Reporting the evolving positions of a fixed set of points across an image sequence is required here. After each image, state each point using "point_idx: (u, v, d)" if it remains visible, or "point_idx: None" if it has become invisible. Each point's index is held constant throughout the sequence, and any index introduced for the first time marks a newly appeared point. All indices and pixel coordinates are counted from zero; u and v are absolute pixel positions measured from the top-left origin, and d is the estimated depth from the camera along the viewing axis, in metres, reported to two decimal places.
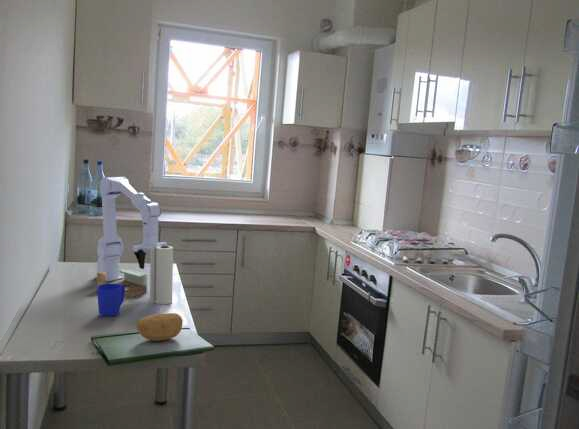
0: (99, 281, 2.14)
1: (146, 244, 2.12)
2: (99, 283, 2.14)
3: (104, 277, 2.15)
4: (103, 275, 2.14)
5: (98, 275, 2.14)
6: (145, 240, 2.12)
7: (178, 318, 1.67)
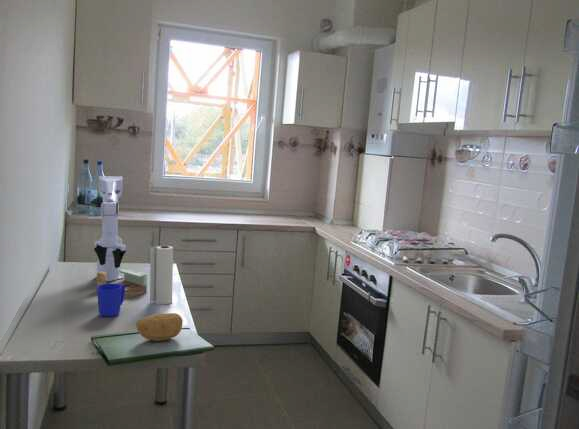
0: (99, 281, 2.14)
1: None
2: (99, 283, 2.14)
3: (104, 277, 2.15)
4: (103, 275, 2.14)
5: (98, 275, 2.14)
6: None
7: (178, 318, 1.67)
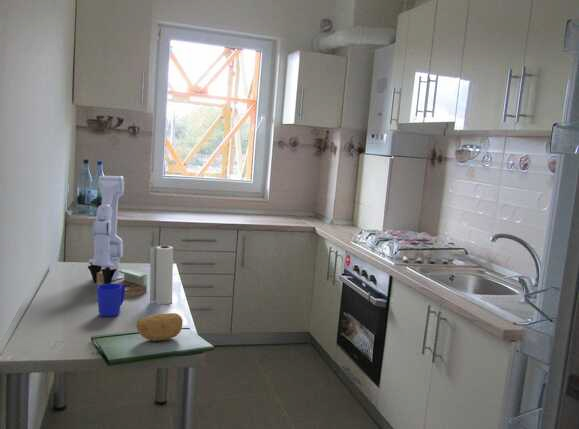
0: (99, 281, 2.14)
1: None
2: (99, 283, 2.14)
3: None
4: None
5: (98, 275, 2.14)
6: None
7: (178, 318, 1.67)
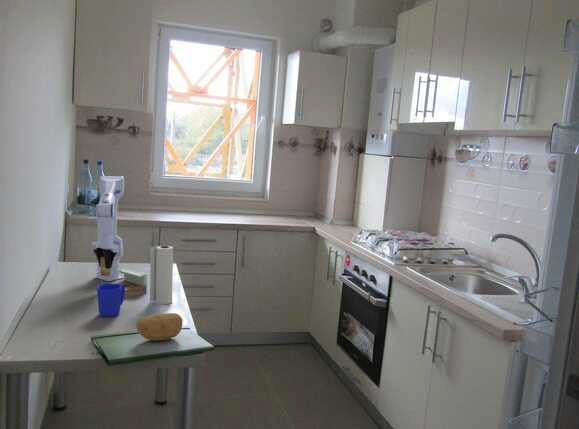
0: (102, 265, 2.13)
1: None
2: (103, 267, 2.13)
3: None
4: None
5: (102, 259, 2.13)
6: None
7: (178, 318, 1.67)
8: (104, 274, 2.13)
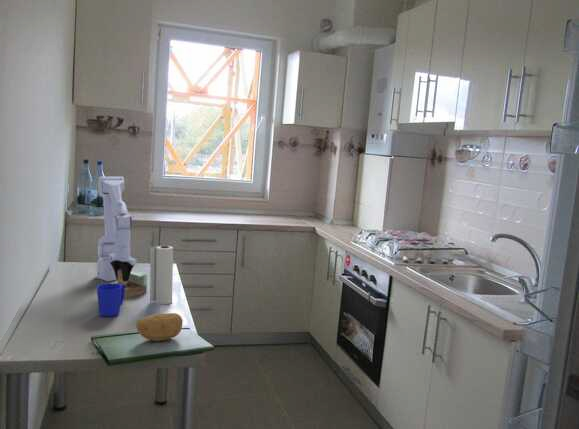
0: (120, 278, 2.11)
1: None
2: (120, 280, 2.11)
3: None
4: None
5: (119, 272, 2.11)
6: None
7: (178, 318, 1.67)
8: None
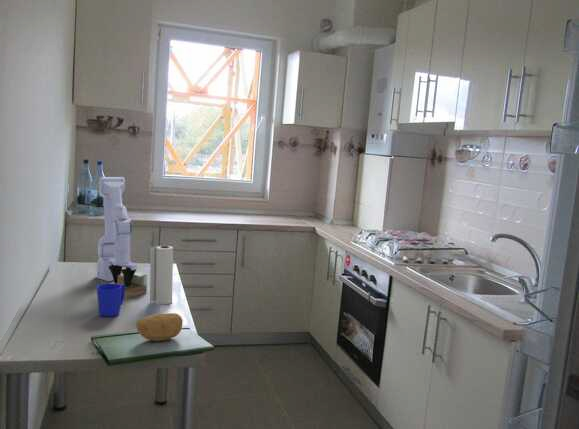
0: None
1: None
2: None
3: None
4: None
5: (119, 278, 2.11)
6: None
7: (178, 318, 1.67)
8: None
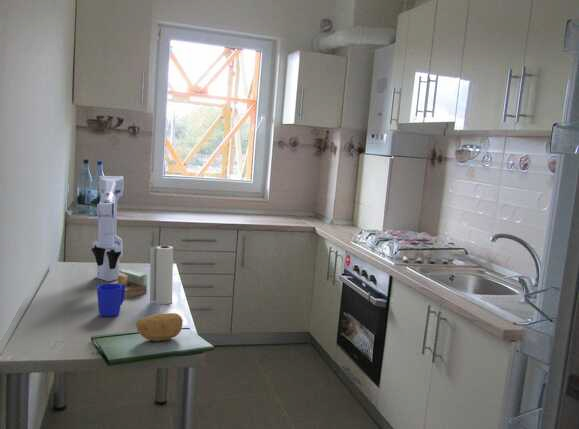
0: None
1: None
2: None
3: (125, 280, 2.12)
4: (124, 278, 2.12)
5: (119, 278, 2.11)
6: None
7: (178, 318, 1.67)
8: None
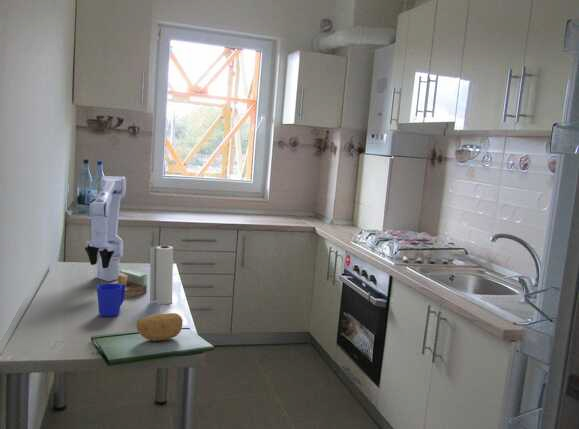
0: None
1: None
2: None
3: (125, 280, 2.12)
4: (124, 278, 2.12)
5: (119, 278, 2.11)
6: None
7: (178, 318, 1.67)
8: None
